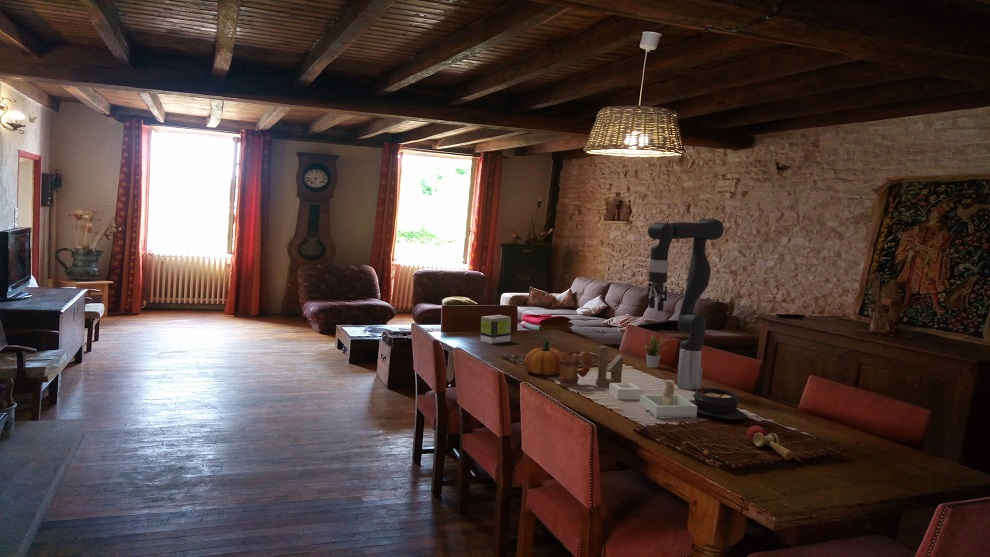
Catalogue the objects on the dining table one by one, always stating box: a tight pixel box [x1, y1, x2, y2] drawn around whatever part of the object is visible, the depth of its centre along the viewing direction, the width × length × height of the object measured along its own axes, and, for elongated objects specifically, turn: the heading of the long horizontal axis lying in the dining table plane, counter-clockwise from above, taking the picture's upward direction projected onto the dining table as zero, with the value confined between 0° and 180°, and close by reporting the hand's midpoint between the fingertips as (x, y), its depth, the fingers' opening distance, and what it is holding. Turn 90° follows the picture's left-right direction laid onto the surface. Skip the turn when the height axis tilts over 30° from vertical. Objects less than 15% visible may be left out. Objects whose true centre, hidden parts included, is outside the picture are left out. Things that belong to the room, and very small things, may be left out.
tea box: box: [480, 314, 512, 345], centre depth 375 cm, size 15×10×15 cm, turn 130°
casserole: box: [688, 387, 748, 421], centre depth 247 cm, size 25×19×8 cm
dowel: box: [662, 379, 676, 406], centre depth 247 cm, size 4×4×11 cm
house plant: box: [642, 334, 670, 369], centre depth 325 cm, size 14×14×16 cm
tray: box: [639, 394, 698, 419], centre depth 247 cm, size 16×16×4 cm
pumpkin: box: [524, 340, 563, 376], centre depth 302 cm, size 19×19×15 cm
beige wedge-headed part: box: [595, 345, 624, 388], centre depth 280 cm, size 4×11×18 cm, turn 111°
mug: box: [557, 350, 592, 388], centre depth 280 cm, size 15×8×15 cm, turn 105°
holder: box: [608, 382, 642, 400], centre depth 264 cm, size 10×10×5 cm
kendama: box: [746, 425, 794, 461], centre depth 210 cm, size 8×6×18 cm
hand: (655, 309), depth 270 cm, fingers open, 8 cm apart
